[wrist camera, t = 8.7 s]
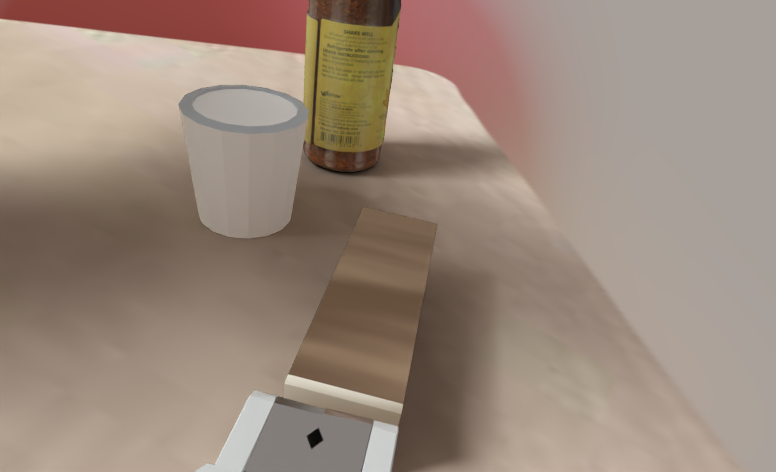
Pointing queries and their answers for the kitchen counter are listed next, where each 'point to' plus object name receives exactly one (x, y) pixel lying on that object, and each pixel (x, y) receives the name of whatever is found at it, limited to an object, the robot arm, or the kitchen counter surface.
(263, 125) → the white tapered cylinder
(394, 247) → the walnut block
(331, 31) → the sauce bottle
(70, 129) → the kitchen counter surface
